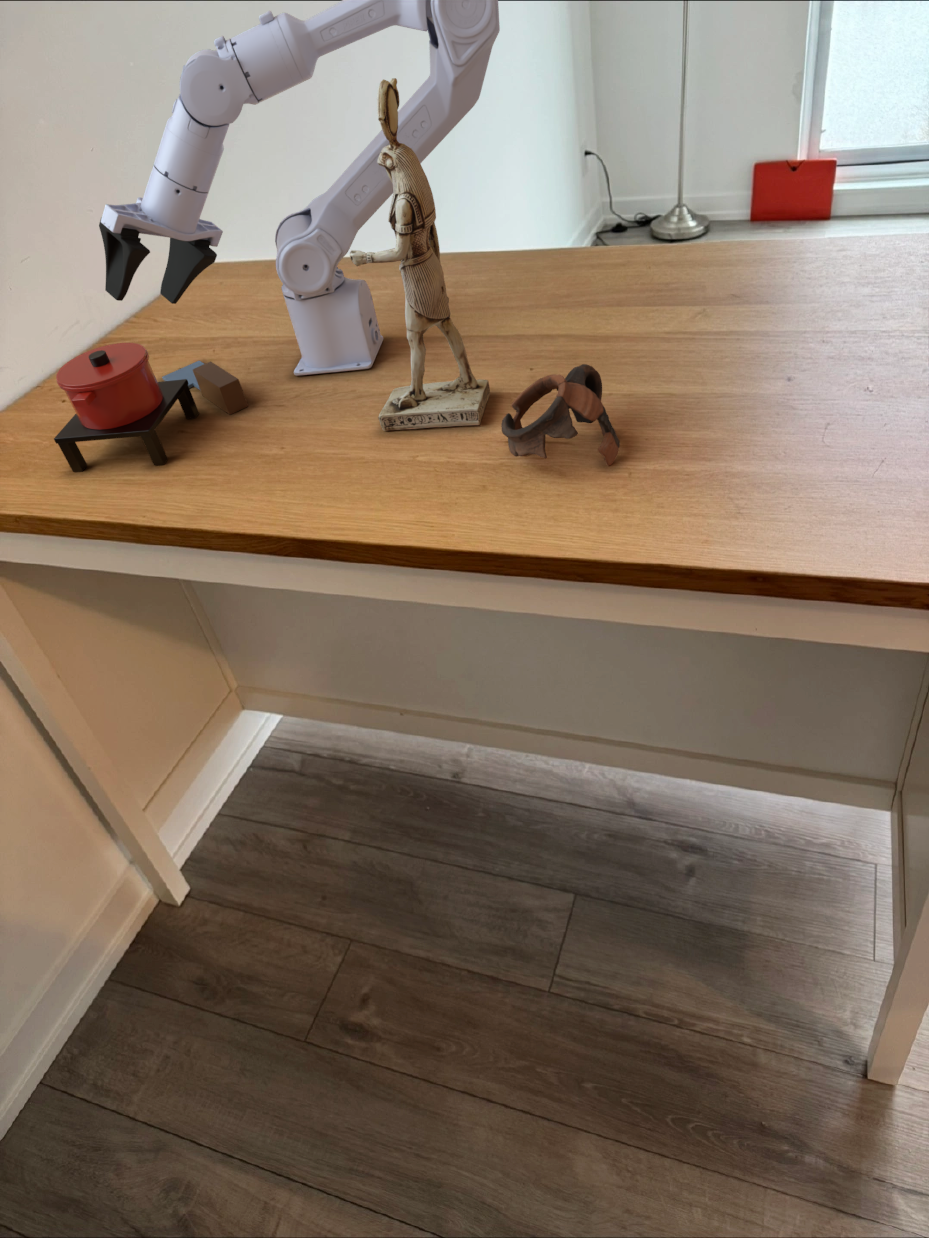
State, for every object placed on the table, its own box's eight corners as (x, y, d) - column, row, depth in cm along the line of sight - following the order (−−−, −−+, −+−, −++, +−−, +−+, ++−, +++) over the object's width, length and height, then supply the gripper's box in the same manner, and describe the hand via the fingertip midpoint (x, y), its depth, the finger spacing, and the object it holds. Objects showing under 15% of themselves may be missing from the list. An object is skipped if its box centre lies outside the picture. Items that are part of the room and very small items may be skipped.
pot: (202, 409, 100) (167, 322, 93) (162, 469, 91) (120, 378, 84) (116, 417, 102) (76, 333, 96) (68, 476, 93) (20, 388, 87)
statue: (397, 397, 95) (323, 81, 75) (492, 391, 92) (441, 62, 72) (381, 432, 89) (297, 103, 70) (481, 427, 87) (423, 84, 67)
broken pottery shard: (612, 489, 76) (556, 426, 72) (532, 510, 83) (477, 453, 79) (648, 392, 81) (598, 327, 77) (570, 418, 88) (520, 360, 84)
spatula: (259, 401, 99) (249, 373, 97) (218, 420, 98) (208, 393, 95) (200, 363, 110) (190, 337, 108) (162, 379, 108) (152, 354, 106)
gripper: (206, 169, 97) (168, 281, 103) (98, 143, 84) (62, 272, 91) (250, 204, 95) (207, 315, 102) (145, 182, 83) (105, 310, 90)
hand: (141, 297), depth 96 cm, fingers open, 7 cm apart
